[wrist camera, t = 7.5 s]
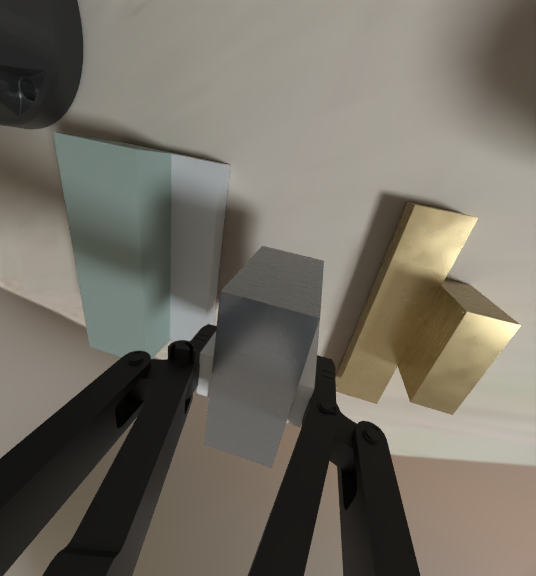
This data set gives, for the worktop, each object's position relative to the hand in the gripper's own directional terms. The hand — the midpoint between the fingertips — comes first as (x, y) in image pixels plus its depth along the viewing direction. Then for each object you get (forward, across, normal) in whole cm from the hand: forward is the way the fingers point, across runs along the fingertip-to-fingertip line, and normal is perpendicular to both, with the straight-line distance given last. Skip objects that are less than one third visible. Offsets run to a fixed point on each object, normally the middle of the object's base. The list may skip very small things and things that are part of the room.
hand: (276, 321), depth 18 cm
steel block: (0, 0, 0) cm, 0 cm away
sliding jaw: (+6, +11, 0) cm, 12 cm away
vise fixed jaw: (+7, -12, 0) cm, 14 cm away
